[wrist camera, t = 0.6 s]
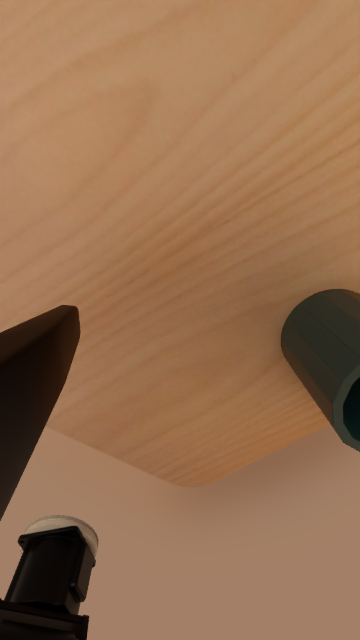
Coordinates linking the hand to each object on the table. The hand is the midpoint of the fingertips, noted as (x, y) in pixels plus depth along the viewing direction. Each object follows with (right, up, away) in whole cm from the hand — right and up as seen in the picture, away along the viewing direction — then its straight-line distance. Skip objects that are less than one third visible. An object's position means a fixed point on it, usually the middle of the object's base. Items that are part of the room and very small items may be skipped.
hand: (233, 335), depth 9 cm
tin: (+11, -1, +17) cm, 20 cm away
